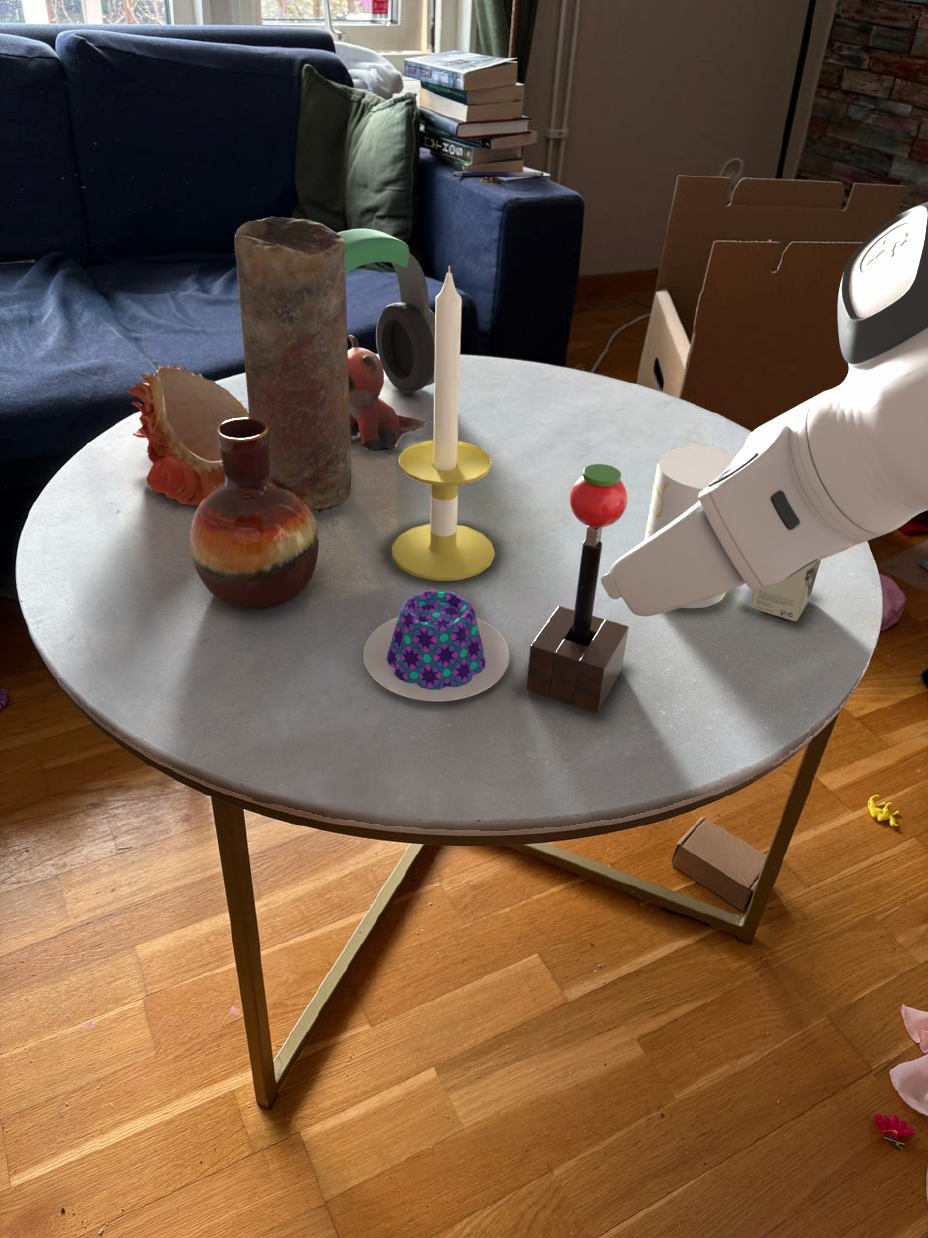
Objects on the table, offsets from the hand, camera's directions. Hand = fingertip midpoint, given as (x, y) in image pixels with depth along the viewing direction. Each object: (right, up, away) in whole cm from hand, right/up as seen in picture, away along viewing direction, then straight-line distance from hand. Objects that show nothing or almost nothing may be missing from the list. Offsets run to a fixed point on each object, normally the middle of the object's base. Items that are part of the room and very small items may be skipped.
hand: (648, 558), depth 66 cm
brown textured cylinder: (-30, +8, +31) cm, 44 cm away
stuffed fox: (-23, +16, +43) cm, 51 cm away
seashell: (-41, +12, +37) cm, 56 cm away
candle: (-15, +2, +24) cm, 29 cm away
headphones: (-25, +24, +53) cm, 63 cm away
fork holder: (-4, -9, +9) cm, 14 cm away
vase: (-32, -1, +19) cm, 37 cm away
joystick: (-4, -9, +9) cm, 14 cm away
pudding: (-15, -8, +11) cm, 20 cm away
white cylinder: (+7, -1, +21) cm, 23 cm away
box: (+16, -3, +19) cm, 25 cm away
